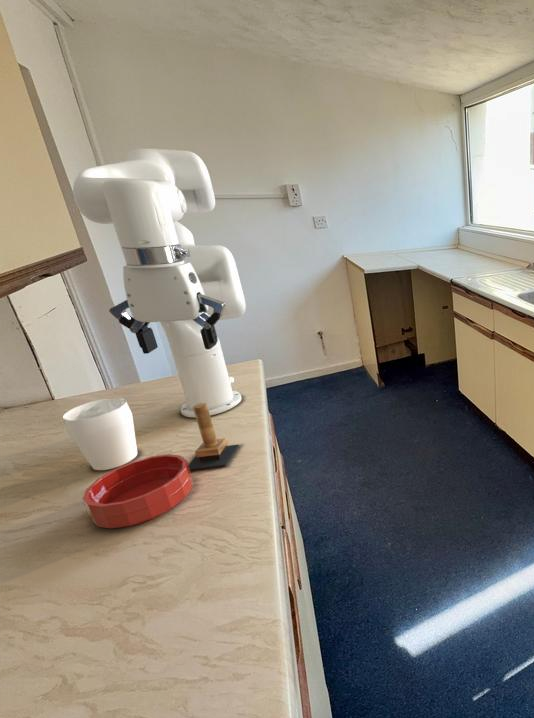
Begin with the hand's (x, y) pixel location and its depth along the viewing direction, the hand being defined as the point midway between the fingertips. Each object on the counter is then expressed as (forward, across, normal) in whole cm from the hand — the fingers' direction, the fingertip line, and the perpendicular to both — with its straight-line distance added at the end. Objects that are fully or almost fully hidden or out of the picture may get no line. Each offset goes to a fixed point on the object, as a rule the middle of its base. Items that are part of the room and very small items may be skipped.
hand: (181, 348), depth 74 cm
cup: (+24, +19, -3) cm, 31 cm away
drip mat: (+24, 0, +1) cm, 24 cm away
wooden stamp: (+24, 0, 0) cm, 24 cm away
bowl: (+24, +6, +12) cm, 27 cm away
